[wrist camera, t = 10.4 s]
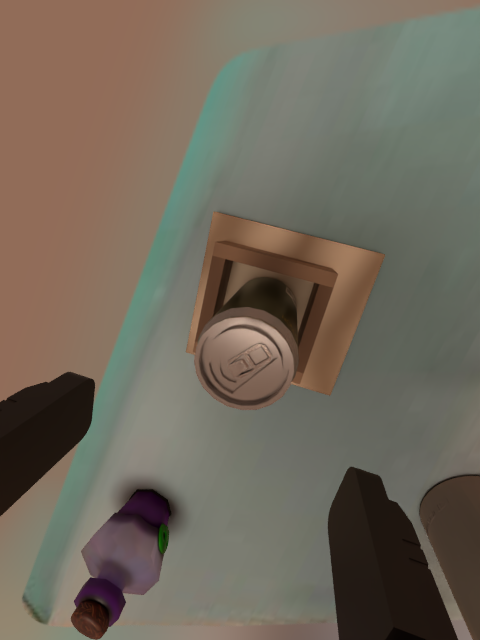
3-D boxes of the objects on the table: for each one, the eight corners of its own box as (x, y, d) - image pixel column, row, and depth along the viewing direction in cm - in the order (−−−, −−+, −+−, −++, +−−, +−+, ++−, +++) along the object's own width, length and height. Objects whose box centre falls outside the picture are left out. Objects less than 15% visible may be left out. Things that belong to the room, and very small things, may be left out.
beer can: (274, 263, 24) (258, 289, 13) (308, 316, 25) (321, 384, 14) (223, 297, 26) (168, 347, 15) (256, 346, 27) (229, 429, 15)
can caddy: (381, 253, 24) (400, 258, 20) (328, 388, 28) (335, 418, 24) (217, 212, 25) (200, 208, 21) (190, 347, 29) (171, 368, 25)
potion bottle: (196, 522, 36) (151, 656, 25) (144, 540, 39) (82, 668, 27) (156, 468, 35) (89, 583, 23) (105, 490, 37) (22, 604, 26)
